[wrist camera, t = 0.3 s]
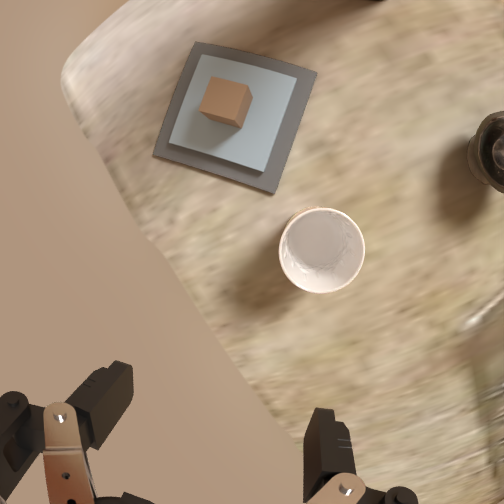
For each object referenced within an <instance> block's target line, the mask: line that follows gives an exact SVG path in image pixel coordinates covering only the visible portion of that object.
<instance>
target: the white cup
mask: <svg viewBox="0 0 504 504" xmlns="http://www.w3.org/2000/svg"><path fill="white" fill-rule="evenodd" d="M364 255H365V245H364V240H363V236H362V234H361V231H360V229H359V228H358V226H357V225H356V224H355V222H354V221H353V220H352V219H351V218H350V217H348V216H347V215H345V214H344V213H342V212H340V211H337V210H334V209H330V208H326V207H318V206H314V207H307V208H305V209H302V210H300V211H299V212H297V213H295V214H294V216H292V218H291V219H290V220H289V222H288V223H287V225H286V227H285V229H284V231H283V234H282V236H281V239H280V243H279V260H280V264H281V267H282V269H283V271H284V273H285V275H286V276H287V278H288V279H289V280H290V281H291V282H292V283H293V284H294V285H296V286H297V287H299V288H300V289H302V290H304V291H307V292H311V293H316V294H325V293H331V292H335V291H337V290H340V289H342V288H343V287H345V286H346V285H348V284H349V283H350V282H351V281H352V280H353V279H354V278H355V277H356V275H357V274H358V272H359V271H360V269H361V266H362V264H363V260H364Z"/></svg>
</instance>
